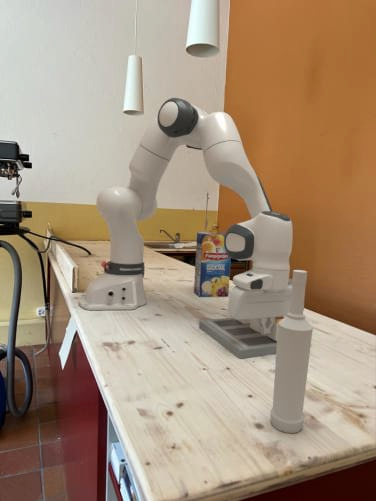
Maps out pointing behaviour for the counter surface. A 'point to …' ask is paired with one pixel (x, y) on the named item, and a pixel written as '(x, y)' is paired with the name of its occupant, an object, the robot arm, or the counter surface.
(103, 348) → the counter surface
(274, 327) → the block
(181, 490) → the counter surface
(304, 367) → the bottle
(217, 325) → the panel
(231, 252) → the robot arm
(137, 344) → the counter surface
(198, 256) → the juice carton
